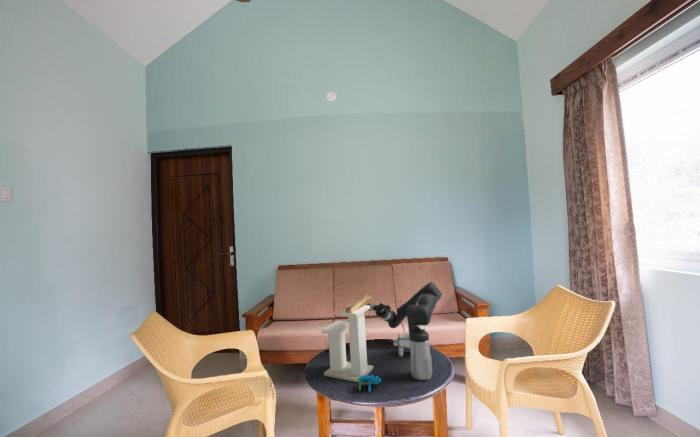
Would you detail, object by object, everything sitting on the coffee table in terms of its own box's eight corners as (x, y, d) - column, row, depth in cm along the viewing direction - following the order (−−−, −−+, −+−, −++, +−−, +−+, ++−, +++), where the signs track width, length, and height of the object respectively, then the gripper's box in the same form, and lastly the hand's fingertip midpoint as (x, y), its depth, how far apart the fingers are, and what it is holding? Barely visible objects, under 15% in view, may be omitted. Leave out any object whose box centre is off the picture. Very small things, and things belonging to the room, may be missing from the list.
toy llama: (395, 351, 177) (392, 316, 178) (426, 352, 173) (423, 316, 174) (394, 356, 169) (391, 320, 170) (426, 357, 166) (424, 320, 167)
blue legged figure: (383, 381, 140) (377, 372, 134) (383, 395, 135) (376, 387, 129) (361, 381, 143) (353, 373, 137) (360, 395, 139) (352, 387, 133)
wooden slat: (372, 300, 167) (372, 295, 167) (351, 313, 145) (351, 306, 145) (367, 300, 168) (367, 295, 169) (345, 312, 146) (345, 306, 146)
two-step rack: (373, 368, 157) (369, 305, 158) (360, 382, 143) (356, 313, 144) (339, 362, 166) (336, 302, 167) (323, 375, 152) (320, 310, 153)
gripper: (373, 305, 189) (363, 296, 177) (395, 306, 182) (386, 298, 170) (371, 317, 185) (360, 309, 173) (393, 319, 179) (384, 311, 166)
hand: (373, 304), depth 172 cm, fingers open, 8 cm apart
